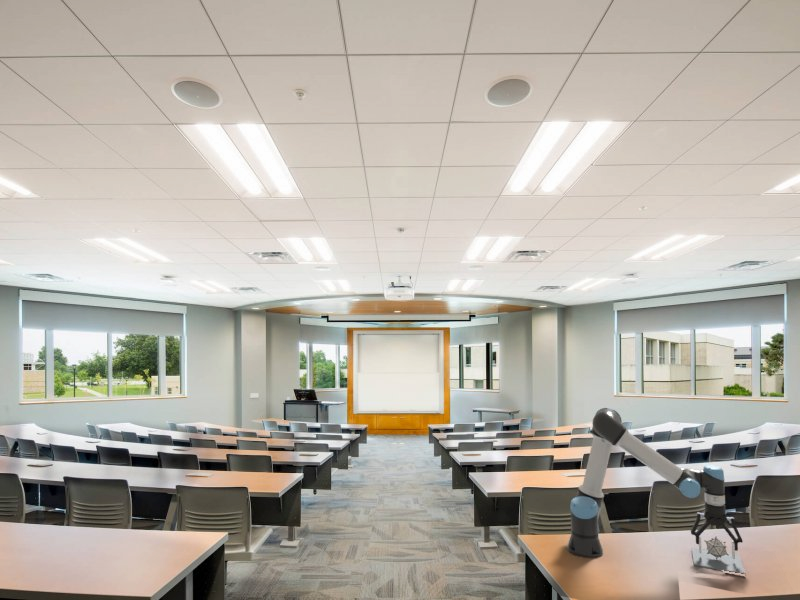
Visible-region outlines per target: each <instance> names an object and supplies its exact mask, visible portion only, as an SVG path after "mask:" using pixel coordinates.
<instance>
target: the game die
mask: <svg viewBox="0 0 800 600" xmlns="http://www.w3.org/2000/svg"><path fill="white" fill-rule="evenodd" d="M704 542H705V544H706V550H708V553H707V554H709V553H710V554H711V555H713V556H715V557H716V559H717V558H718V557H720V558H721V556H723V555H726V554H727V553H728V552H727V549H726V548H727V546H726V543H727V542H726V541H721V539H719V538H717V536H715V537H714V538H713V537H711V539H709V540H704ZM728 554H729V553H728ZM728 554H727V555H728Z"/></svg>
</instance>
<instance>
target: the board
mask: <svg viewBox="0 0 800 600" xmlns="http://www.w3.org/2000/svg"><path fill="white" fill-rule="evenodd" d="M701 552H702V553H699V547H691V557H692V561H693V562H694V563H693V566H694V567H696V566H698V567H697V568H703V567H706V568H705V569H709V568H712V569H711V570H715V569H717V570H716V571H721V570H724V571H729V572H735V573H741V574H745V575H746V571H745V568H744V566H743V563H742V560H741V557H740V555H737V554H735V559H733V557H732V553H728V552H727V554H728V555H727V554H726V555H723V556H721V558H720V557H718V558H717V559H716V557H715V556H713V555H711V554H710V553H709V554H707V553H708V549H703V548H701Z"/></svg>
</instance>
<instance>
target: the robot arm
mask: <svg viewBox="0 0 800 600" xmlns="http://www.w3.org/2000/svg"><path fill="white" fill-rule="evenodd" d="M622 422H623V421H622V417H621V414H620V413H619V412H618V411H617V410H616V409H613V408H611V407H603V408H600V409H598V410H596V413H595V415H594V417H593V419H592V427H591V432H590V434H591V435H592V437H593V438H592V443H591V447H590V451H589V455H588V460H587V465H586V470H585V473H584V478H583V481H582V484H581V485H579V486H578V488H577V491H576V492H577V493H576V496H575V497H573V498H572V499H571V500H570V506H569V507H570V531H571V533H570V536H569V539H568V543H567V551H568V553H569V554H571V555H574V556H576V557H580V558H587V559H596V558H601V557H602V556H603V555H604V550H603V547H602V545H601V540H600V538H599V518H600V514H601V511H602V508H603V501H604V497H605V494H604V493H603V491H602V490H603V485H604V482H605V481H604V480H605V478H606V473H607V469H608V466H609V465H608V464H609V460H610V456H611V452H612V447H613V446H615V447H620V448H621V449H623V450H624V451H625V452H626V453H628V454H629V455H631V456H632V457H633V458H635V459H636V460H637V461H639V462H640V463H642V464H644V465H645V466H646V467H648V468H649V469H650V470H652V471H653V472H655V473H656V474H658V476H660V477H662V478H663V479H664V480H666V481H667V482H668V483H670V484H672V485H673V486H674V487H675V488H676V489H677V490H679V491H680V492H681V494H682V495H683V496H685V497H686V498H689V499H694V498H697V497H698V496H699V495H700V493H701V489H704V494H703V495H704V512H703V513H701V512H700V511H697V512H696V518H695V521H694V523H693V525H692V527H691V529H690V534H691V535H692V536H695V543H696V545H698V548H699V553H702V552H701V549H702V536H701V535H702V533H704V531H706V529H707V528H708V527H709V526H710V525H711V526H712V527H713V526H717V527H722V529H724V530H725V532H726V533H727V535H728V536H729V537H730V539H731V554H732V557H733V559H735V555H736V552H738V550H739V544H741V543H743V539H742V536H741V534H740V532H739V529H738V528H737V526H736V523H735V522H736V521H735V517H734V516H730V517H729V516H727V514H726V505H725V504H726V495H725V489H726V488H725V486H726V485H725V474H724V469H723V468H722V467H720V466H717V465H704V466H703V469H693V468H685V467H679V466H677V465H676V464H675V463H673V462H672V461H670V460H669V459H668V458H666V457H665V456H663V455H662V454H661V453H659V452H658V451H656V450H655V449H653V447H650V446H649V445H647V443H645V442H644V441H642V440H640V439H639V438H638V437H637V436H635V435H633V434H632V433H630V432H629V429H628V428H627V427H626V426H625V425H624V424H622ZM703 518H705V521H704V522H703V524H702V525H701V526H700V527H699V524H700V521H701V519H703ZM727 521H728V523H729V524H731V526H732V529H733V531H734V533H735V535H736V536H735V535H734V534H733V532H732V531H731V530H730V528H729V527H728V526H727V524H726V522H727ZM698 527H699V528H698Z"/></svg>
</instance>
